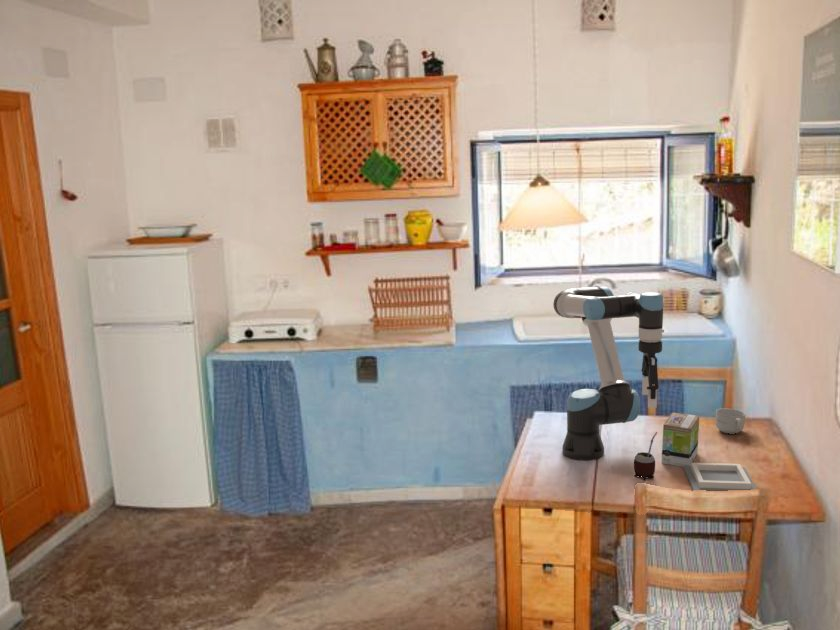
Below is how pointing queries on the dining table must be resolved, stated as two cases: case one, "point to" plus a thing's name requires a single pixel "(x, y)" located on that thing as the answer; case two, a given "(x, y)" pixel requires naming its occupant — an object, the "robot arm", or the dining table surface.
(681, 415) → the tea box
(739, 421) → the teacup
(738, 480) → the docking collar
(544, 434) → the dining table surface
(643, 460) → the mate gourd
